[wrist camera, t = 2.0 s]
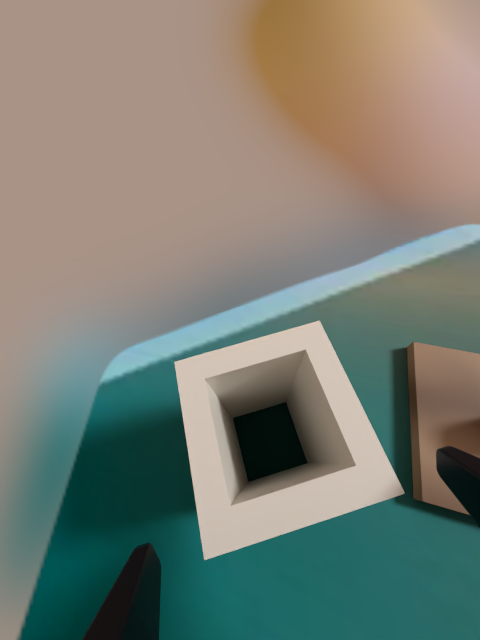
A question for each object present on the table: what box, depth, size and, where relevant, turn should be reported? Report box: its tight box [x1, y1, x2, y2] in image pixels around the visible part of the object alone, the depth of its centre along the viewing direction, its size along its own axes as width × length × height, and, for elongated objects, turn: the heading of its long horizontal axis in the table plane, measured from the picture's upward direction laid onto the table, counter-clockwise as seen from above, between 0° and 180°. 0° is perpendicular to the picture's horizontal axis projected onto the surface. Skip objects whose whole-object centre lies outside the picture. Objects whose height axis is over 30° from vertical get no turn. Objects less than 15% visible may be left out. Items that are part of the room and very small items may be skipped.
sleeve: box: [175, 321, 405, 560], centre depth 13 cm, size 6×6×10 cm
